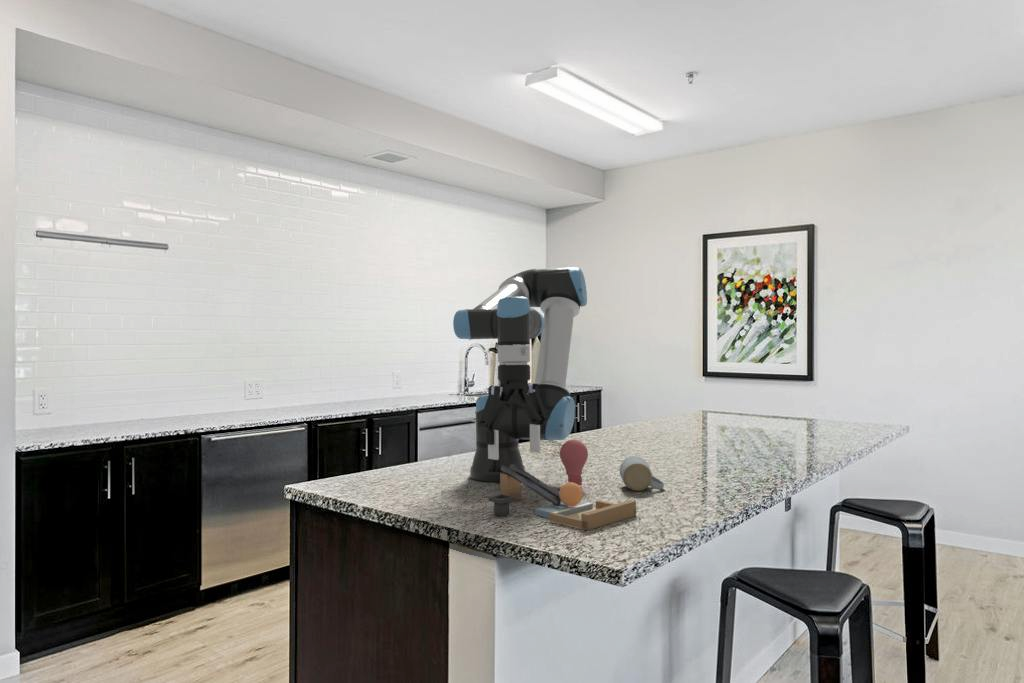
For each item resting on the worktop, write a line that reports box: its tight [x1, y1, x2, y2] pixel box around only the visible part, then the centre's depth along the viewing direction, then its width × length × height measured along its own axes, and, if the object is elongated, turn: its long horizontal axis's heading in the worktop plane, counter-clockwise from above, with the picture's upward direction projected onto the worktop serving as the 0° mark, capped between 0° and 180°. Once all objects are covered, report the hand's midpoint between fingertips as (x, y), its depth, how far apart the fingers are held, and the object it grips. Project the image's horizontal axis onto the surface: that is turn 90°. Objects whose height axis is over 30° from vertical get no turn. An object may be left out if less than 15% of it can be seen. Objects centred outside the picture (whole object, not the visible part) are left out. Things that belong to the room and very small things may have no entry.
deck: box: [534, 500, 594, 519], centre depth 146 cm, size 6×12×1 cm, turn 134°
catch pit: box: [549, 499, 637, 532], centre depth 140 cm, size 10×16×3 cm, turn 135°
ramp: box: [499, 463, 562, 506], centre depth 152 cm, size 18×4×8 cm, turn 44°
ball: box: [558, 481, 583, 506], centre depth 144 cm, size 5×5×5 cm
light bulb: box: [559, 439, 589, 486], centre depth 171 cm, size 7×7×12 cm
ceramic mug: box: [619, 455, 665, 492], centre depth 168 cm, size 11×8×8 cm
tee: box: [487, 494, 515, 517], centre depth 144 cm, size 4×4×4 cm
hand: (514, 455), depth 156 cm, fingers open, 13 cm apart
